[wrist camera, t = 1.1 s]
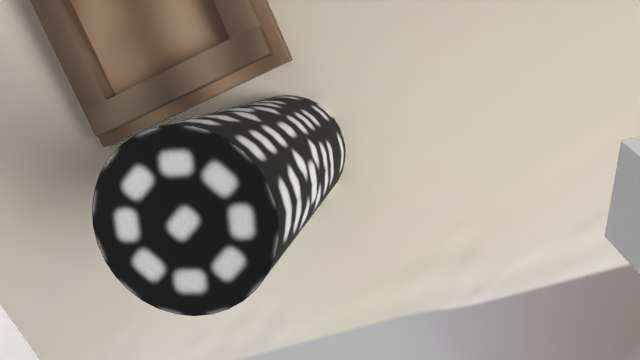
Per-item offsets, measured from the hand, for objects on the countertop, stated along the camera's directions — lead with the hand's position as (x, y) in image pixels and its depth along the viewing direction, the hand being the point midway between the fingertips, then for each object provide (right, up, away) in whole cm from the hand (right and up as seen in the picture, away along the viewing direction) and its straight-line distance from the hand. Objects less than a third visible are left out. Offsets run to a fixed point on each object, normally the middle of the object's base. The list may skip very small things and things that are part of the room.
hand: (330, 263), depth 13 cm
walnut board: (-13, +15, +31) cm, 37 cm away
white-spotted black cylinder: (-2, +4, +32) cm, 32 cm away
